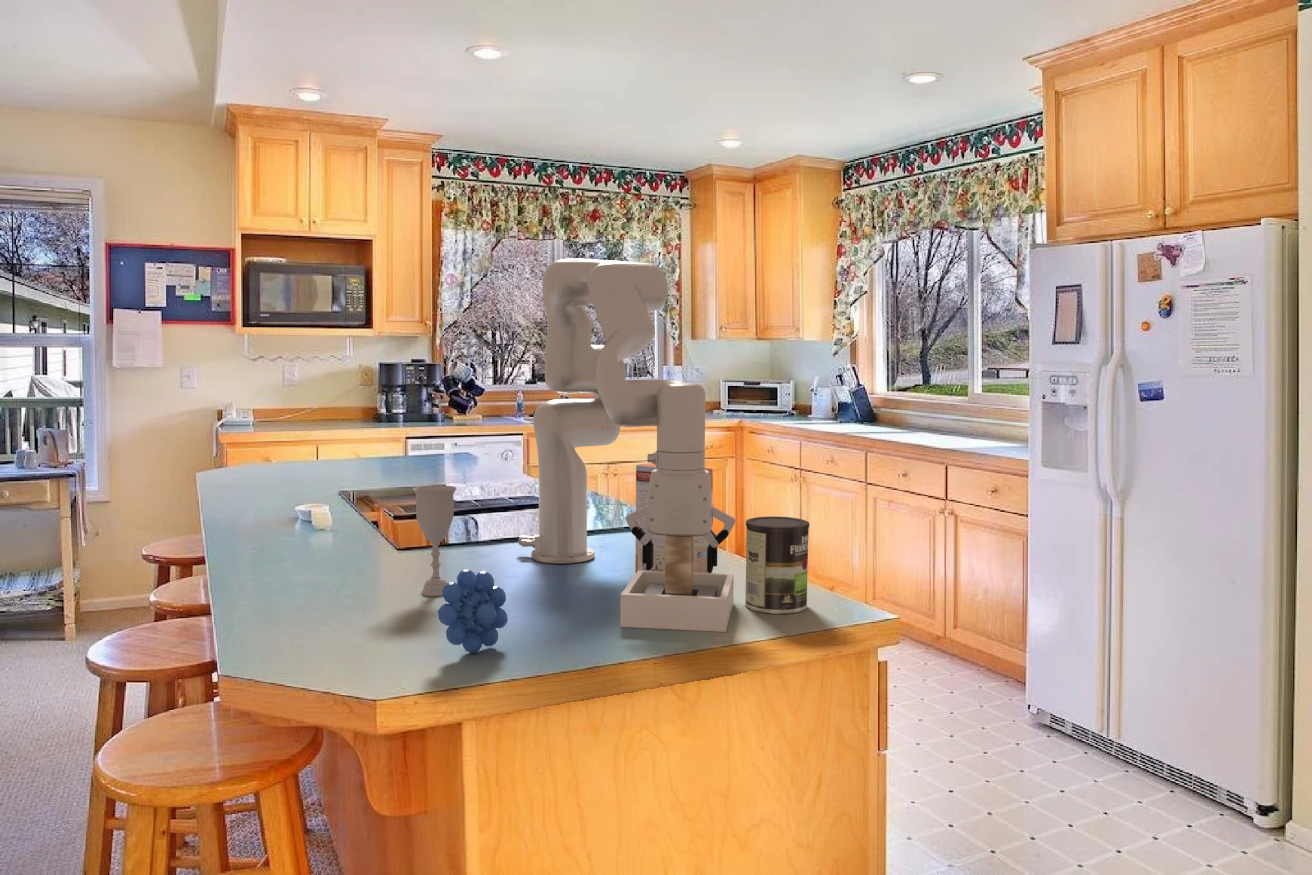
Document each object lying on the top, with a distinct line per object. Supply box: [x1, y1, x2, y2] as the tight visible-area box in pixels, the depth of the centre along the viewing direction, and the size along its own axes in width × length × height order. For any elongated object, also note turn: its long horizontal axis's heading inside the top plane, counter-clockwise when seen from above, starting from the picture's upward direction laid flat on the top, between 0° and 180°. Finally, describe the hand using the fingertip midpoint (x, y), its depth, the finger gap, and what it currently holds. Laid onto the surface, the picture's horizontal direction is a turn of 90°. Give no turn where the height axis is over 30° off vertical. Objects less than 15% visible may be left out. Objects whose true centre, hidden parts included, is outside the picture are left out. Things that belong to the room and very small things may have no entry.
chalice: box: [412, 485, 457, 597], centre depth 168 cm, size 7×7×18 cm
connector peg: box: [665, 535, 694, 596], centre depth 155 cm, size 4×4×12 cm
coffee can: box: [744, 516, 810, 615], centre depth 160 cm, size 10×10×14 cm
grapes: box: [437, 569, 508, 654], centre depth 135 cm, size 12×7×12 cm, turn 139°
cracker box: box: [634, 462, 714, 575], centre depth 178 cm, size 14×6×21 cm, turn 47°
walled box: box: [620, 570, 735, 633], centre depth 155 cm, size 16×16×5 cm
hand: (679, 569), depth 155 cm, fingers open, 9 cm apart
